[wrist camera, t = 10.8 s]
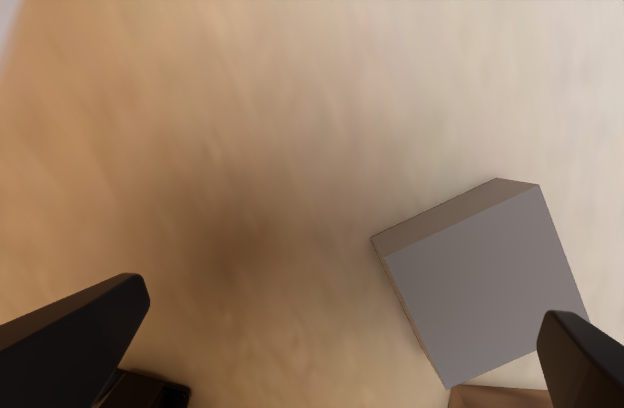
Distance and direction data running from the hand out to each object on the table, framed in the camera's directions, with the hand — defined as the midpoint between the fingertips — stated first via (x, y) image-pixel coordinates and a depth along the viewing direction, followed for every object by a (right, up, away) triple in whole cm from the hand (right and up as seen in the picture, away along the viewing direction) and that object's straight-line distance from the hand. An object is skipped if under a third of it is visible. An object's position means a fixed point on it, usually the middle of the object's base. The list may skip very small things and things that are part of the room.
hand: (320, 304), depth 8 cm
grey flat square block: (+10, -2, +15) cm, 18 cm away
